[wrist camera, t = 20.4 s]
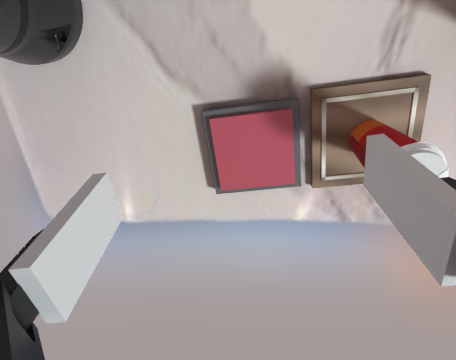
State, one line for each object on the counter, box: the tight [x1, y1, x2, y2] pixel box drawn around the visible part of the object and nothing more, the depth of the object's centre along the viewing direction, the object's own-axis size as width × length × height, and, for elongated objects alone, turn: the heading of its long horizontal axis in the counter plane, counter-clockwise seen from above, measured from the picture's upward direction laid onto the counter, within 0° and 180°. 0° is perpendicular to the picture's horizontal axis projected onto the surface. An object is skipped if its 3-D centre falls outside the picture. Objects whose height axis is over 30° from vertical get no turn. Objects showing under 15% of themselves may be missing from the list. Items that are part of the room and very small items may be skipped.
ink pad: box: [202, 98, 301, 194], centre depth 46 cm, size 14×14×2 cm
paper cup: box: [349, 120, 449, 178], centre depth 39 cm, size 8×8×14 cm
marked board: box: [310, 74, 431, 188], centre depth 45 cm, size 16×16×1 cm
